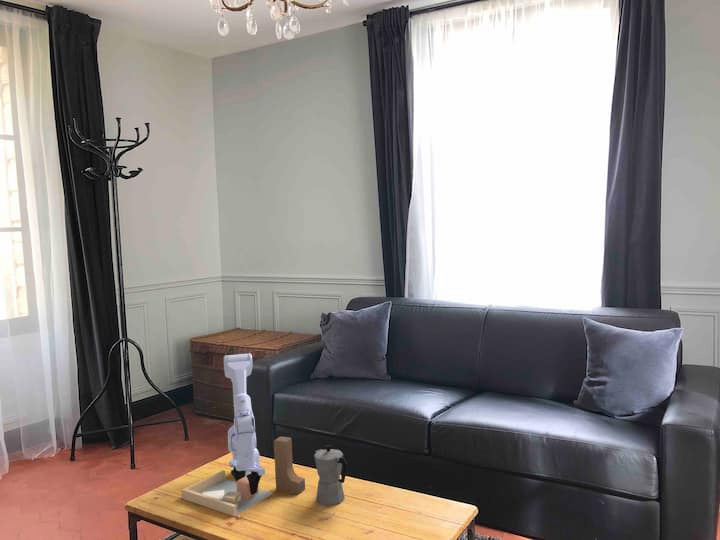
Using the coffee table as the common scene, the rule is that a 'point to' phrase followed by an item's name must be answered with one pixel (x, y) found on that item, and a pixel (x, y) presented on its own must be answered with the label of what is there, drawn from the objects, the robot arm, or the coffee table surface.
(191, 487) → the arena board
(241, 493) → the terracotta cube
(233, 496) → the ash block
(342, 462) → the coffeepot
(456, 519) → the coffee table surface
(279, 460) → the wooden block
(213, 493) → the pad
